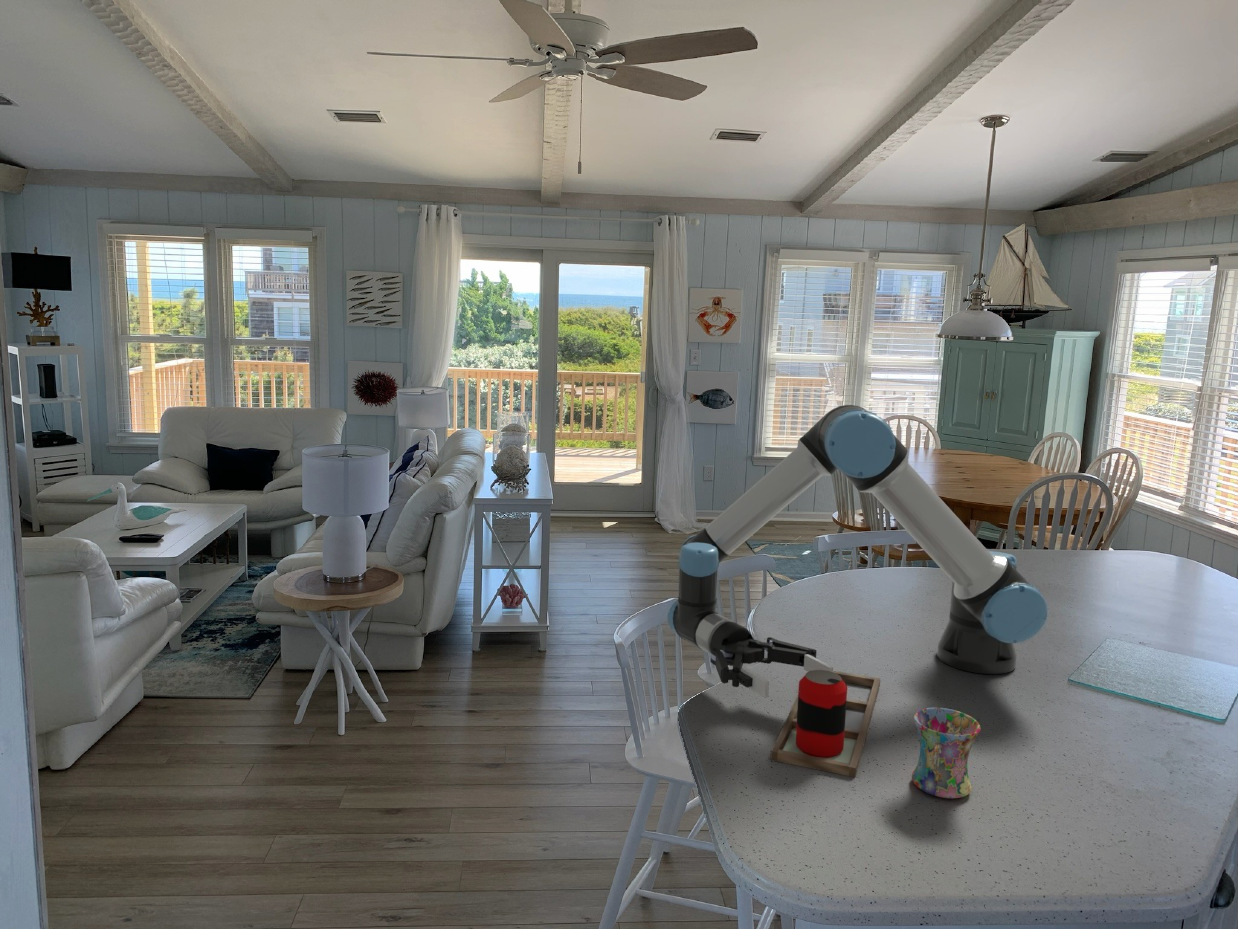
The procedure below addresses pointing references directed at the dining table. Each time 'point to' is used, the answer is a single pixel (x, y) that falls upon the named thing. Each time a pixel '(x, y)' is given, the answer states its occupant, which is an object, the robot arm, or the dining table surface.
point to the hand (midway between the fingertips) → (800, 682)
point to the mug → (944, 751)
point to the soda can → (821, 714)
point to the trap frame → (853, 736)
